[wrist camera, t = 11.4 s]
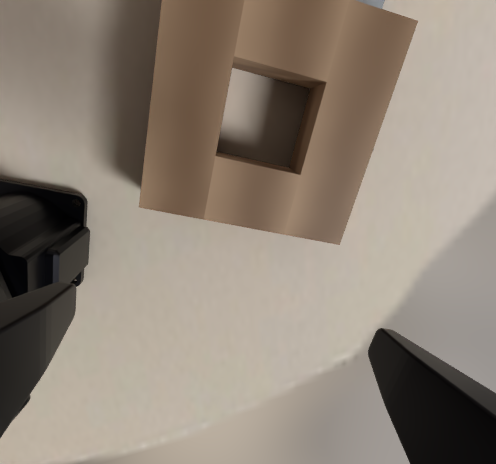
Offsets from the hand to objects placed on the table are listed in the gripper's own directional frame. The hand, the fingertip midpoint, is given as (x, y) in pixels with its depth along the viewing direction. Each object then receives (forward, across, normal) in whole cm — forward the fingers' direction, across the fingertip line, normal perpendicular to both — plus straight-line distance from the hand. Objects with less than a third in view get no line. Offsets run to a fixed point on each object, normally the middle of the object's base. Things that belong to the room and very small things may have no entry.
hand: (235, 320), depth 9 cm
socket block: (+12, -1, -6) cm, 13 cm away
